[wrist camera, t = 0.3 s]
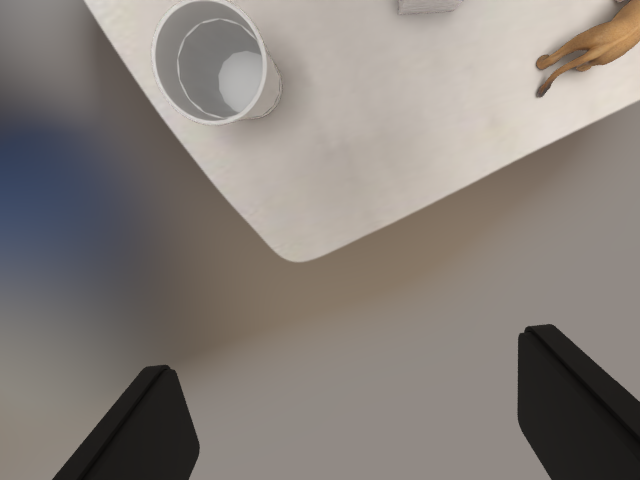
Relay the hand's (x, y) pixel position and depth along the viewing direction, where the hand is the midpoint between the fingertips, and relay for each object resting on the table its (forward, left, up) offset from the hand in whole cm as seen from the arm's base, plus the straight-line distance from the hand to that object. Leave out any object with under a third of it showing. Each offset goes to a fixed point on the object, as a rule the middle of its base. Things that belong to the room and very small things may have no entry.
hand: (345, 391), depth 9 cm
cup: (-12, -9, -30) cm, 33 cm away
